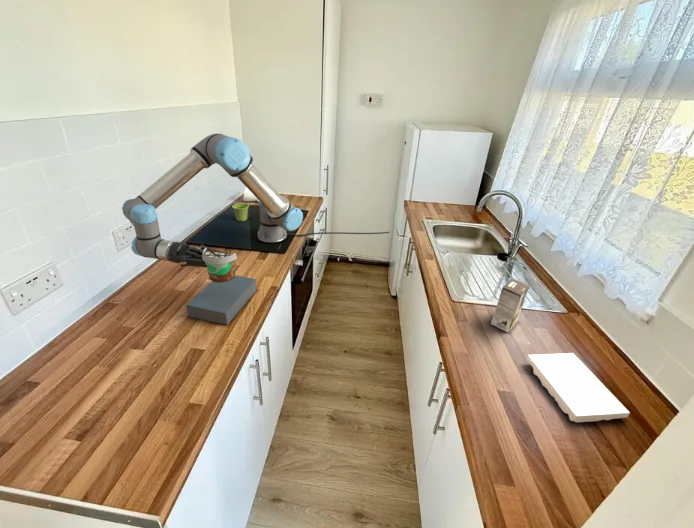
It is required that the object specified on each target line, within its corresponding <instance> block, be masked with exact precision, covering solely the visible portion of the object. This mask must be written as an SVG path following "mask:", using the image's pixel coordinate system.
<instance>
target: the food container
mask: <svg viewBox="0 0 694 528" xmlns="http://www.w3.org/2000/svg"><path fill="white" fill-rule="evenodd" d="M219 251H220V250H218V251H209V250H207V249H206V248H205V249H204V250H203V254H202V259H203V260H204V261H205V263H206V266H207V267H206V271H207V275H208V279H209V280H210V282H212V281H213V282H219V283H221V282H227V281H230V280H232V279H234V278H235V275H236V260H237V259H238V257H237V256H238V255H237V254H236V252H234V253H233V254H230V253H227V252H224V251H220V252H219Z"/></svg>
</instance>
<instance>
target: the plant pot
mask: <svg viewBox="0 0 694 528" xmlns="http://www.w3.org/2000/svg"><path fill="white" fill-rule="evenodd" d="M231 207H232V209H233V212H234V215H235V219H236V221H237V222H245V221H247V220H248V213H249V207H250V204H248V203H244V202H240V203H234V204H232V206H231Z"/></svg>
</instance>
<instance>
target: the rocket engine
mask: <svg viewBox="0 0 694 528" xmlns="http://www.w3.org/2000/svg"><path fill="white" fill-rule="evenodd" d="M242 201H243V202H258V203H259V200H258V199H257V198H256V197H255V196H254V194H253V193H252V192H251V191H250V190H249V189H248V188H247V187H246V186H245V188H244V191H243V197H242Z"/></svg>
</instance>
